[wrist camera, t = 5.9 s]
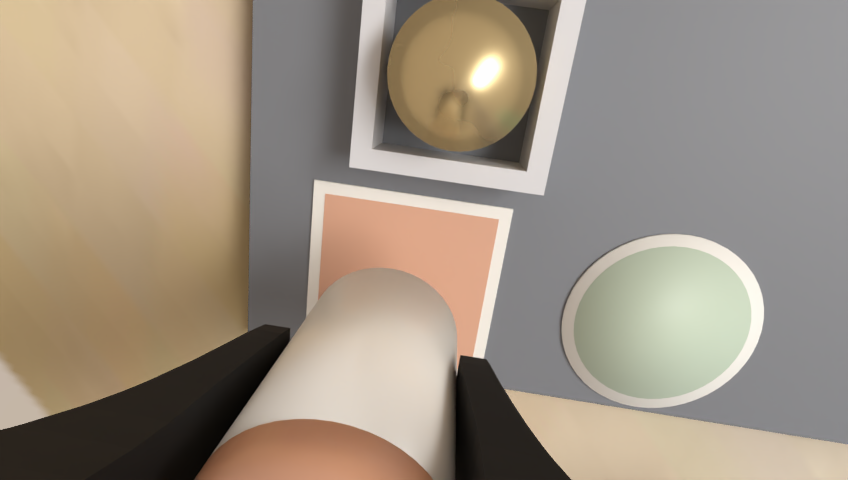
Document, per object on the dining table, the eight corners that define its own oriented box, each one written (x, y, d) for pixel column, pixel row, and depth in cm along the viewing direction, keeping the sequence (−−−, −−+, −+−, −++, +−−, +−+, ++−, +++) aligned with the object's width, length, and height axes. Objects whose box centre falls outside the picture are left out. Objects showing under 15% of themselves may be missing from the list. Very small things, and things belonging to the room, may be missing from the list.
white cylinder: (444, 409, 13) (428, 741, 6) (306, 386, 13) (147, 688, 6) (468, 280, 12) (479, 525, 5) (315, 256, 12) (129, 463, 5)
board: (894, 433, 18) (977, 498, 15) (260, 331, 18) (224, 374, 16) (1109, 42, 13) (1286, 27, 10) (270, -67, 14) (223, -107, 11)
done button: (512, 152, 13) (520, 161, 12) (391, 134, 14) (379, 140, 12) (538, 18, 12) (551, 3, 10) (405, 0, 12) (395, -17, 11)
